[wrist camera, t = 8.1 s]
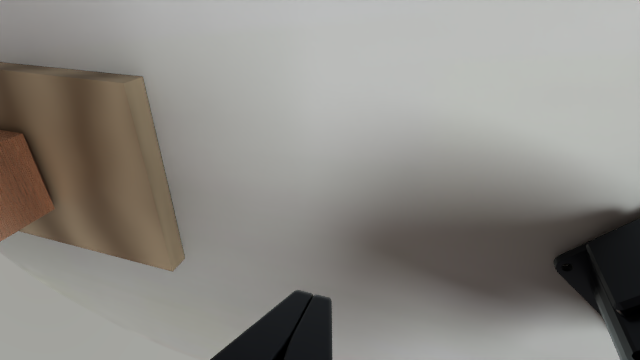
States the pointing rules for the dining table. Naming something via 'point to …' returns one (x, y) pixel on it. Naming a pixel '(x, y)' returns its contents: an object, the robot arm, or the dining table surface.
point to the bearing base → (94, 161)
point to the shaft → (19, 186)
